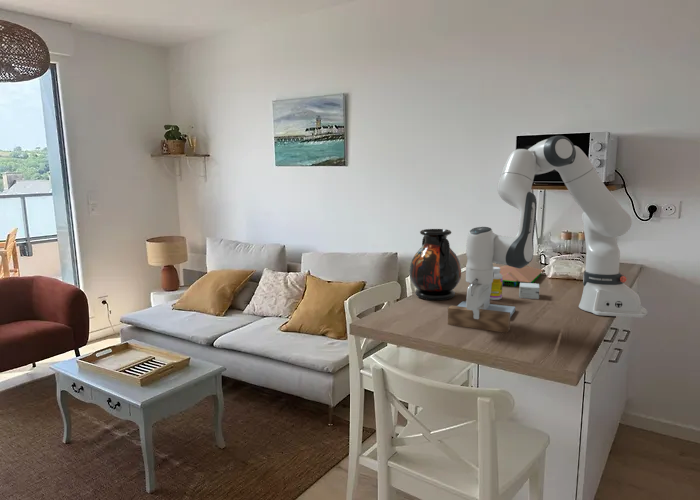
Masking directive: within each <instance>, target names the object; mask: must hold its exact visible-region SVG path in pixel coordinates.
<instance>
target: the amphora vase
mask: <svg viewBox="0 0 700 500" xmlns="http://www.w3.org/2000/svg"><path fill="white" fill-rule="evenodd" d="M419 233H420V235H422V236H423V237H422V242H421V247H420V248H419V249H418V250H417V251H416V252H415V254H414V255H413V258H412V259H411V262H410V265H409V278H410V282H412V284H413V286H414V287H415V288H416V290H415V296H416V297H418V298H420V299H424V300H429V301H443V300H445V301H446V300H449V299H452V298H453V297H455V294H456V292H455V291H454V289H455V288H456V287H457V286H458V284H459V283H460V281H461V280H462V279H461V278H462V267H461V262H460V260H459V257H458V255H457V254H456V253H455V252H454V250H453V249H452V248H451V247H450V245H451V244H450V242H449V240H448V239H447V237H448V236H450V235H451V234H452V231H451V230H450V229H445V228H428V229H422V230H420V231H419Z"/></svg>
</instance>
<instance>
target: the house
mask: <svg viewBox="0 0 700 500" xmlns="http://www.w3.org/2000/svg"><path fill="white" fill-rule="evenodd" d="M498 267H499V268H500V274H501V275H502V286H505V285H506V287H507V285H508V284H510V283H511V286H517V285H519V284H520V283H534V282H535V281H536V280H537V279H538V278H539V277H541V275H542V273H543V272H544V269H540V268H536V267H535V266H534V267H532V266H530V265H526V266H525V267H523V268H515V267H511V266H508V265H502V266H498ZM505 282H506V283H505ZM507 282H508V283H507ZM509 282H510V283H509Z"/></svg>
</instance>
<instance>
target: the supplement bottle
mask: <svg viewBox="0 0 700 500" xmlns="http://www.w3.org/2000/svg"><path fill="white" fill-rule="evenodd" d="M499 267H500V266H493V271H494V277H493V282H492V287H491V294H490V301H498V300H501V299H502V298H503V285H502V275H501V274H500V268H499Z"/></svg>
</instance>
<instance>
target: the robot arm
mask: <svg viewBox="0 0 700 500" xmlns="http://www.w3.org/2000/svg"><path fill="white" fill-rule="evenodd" d="M554 170H555V171H556V172H558V173H559V175H560V178H561V180H562V181H563V183H564V186H565V187H566V188H567V190H568V192H569V194H570V195H571V196H572V199H573V200H574V202H575V203H576V204H577V205H578V206H579V208H581V209H582V211H583V212H582V214H581V222H582V225H583V232H584V233H583V234H584V241H585V248H586V249H585V251H586V255H585V268H584V271H583V276H582V280H583V281H582V285H583V289H582V290H583V291H582V295H581V298H580V301H579V304H578V308H579V309H581V310H582V311H585V312H589V313H592V314H593V315H596V316H606V317H607V316H609V317H624V318H625V317H627V318H646V317H647V316H648V309H646V308H645V307H644V306H642V303H641V297H640V296H639V294H638V293H637V292H636V291H634V290H633V289H632V288H631V287H629V286H628V285H626V284H625V282H627V277H626V275H624V274H623V273H621V272H620V261H621V260H620V257H621V251H620V248H619V245H618V241H617V238H618V237H621V236H623V235H625V234H626V233H628V231H630V230H631V227H632V222H633V221H632V217H631V215H630V214H629V213H628V211H626V210H625V209H624V207H623V206H622V205H621V203H620V202H619V201H618V200H617V198H616V197H615V196H614V195H613V194H612V193H611V191H610V190H609V189H608V188H607V186H606V185H605V183H604V181H603V179H602V178H601V176H600V174H599V173H598V172H597V170H596V168H595V167H594V165H593V163H592V161H591V160H590V159H589V157H588V156H587V155H586V153H585V152H584V151H583V150H582V149H581V148H580V147H579V146H577V145H574V143H573V142H572V141H571V140H570V139H569V138H568V137H566V136H564V135H555V136H554V135H553V136H550V137H548V138H546V139H543V140H541V141H538V142H536V144H534V145H532V146H530V147H528V148H516V149H515V150H513V151H511V152H510V154H509V155H508V157H507V159H506V161H505V163H504V165H503V168H502V171H501V174H500V176H499V179H498V183H497V194H498V195H499V198H501V200H502V201H503V202H504V203H506V204H508V205H510V206H512V207H513V208H514V209H515V208H516V209H518V211H519V220H518V226H517V227H518V228H517V234H516V235H514V236H508V235H507V236H506V235H504V236H503V235H499V234H496V233H494V232H493V228H491V227H488V226H478V227H477V226H476V227H473V228H472V229H470V230H469V231H468V235H467V238H466V245H465V247H466V250H465V255H466V261H467V262H466V264H465V282H466V283H469V285H468V286H467V290H466V300H465V301H466V307H467V309H468V310H473V314H474V319H479V318H480V313H479V309H484V304H485V301H486V300H487V299H488V298H489V297H490V294H491V287H492V282H493V277H494V271H493V267H494V264H496V265H502V266H505V265H508V266H511V267H515V268H523V267H525V266H528V265H529V264H530V263H531V262H532V260H533V257H534V236H535V227H536V226H535V225H536V218H537V208H538V207H537V206H538V205H537V203H538V201H537V198H536V195H535V194H534V193H533V191H532V189H533V188H532V187H533V182H534V179H535V177H536V176H539V175H542V174H546V173H549V172H552V171H554Z"/></svg>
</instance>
